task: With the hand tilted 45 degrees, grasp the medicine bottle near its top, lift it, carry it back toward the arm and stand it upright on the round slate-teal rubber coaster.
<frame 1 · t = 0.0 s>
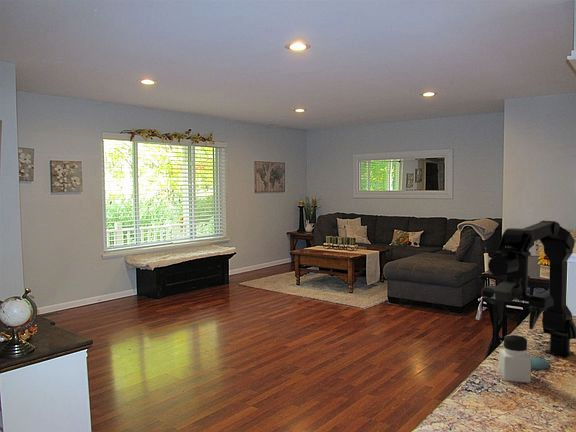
hand: (515, 325, 141), 15 cm above the countertop, tool pointing down, fingers open, 9 cm apart
coaster: (530, 363, 151), on the countertop
medicine bottle: (514, 377, 141), on the countertop
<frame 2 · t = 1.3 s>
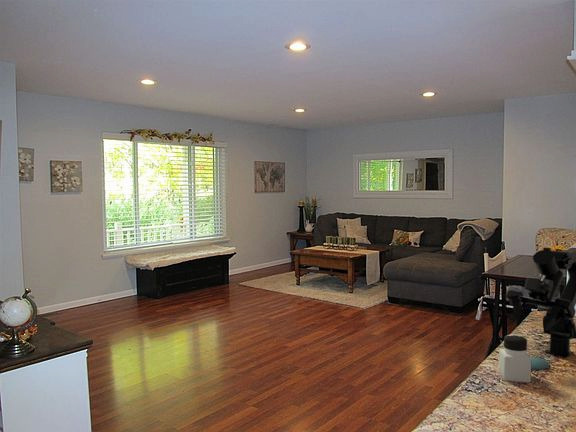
hand: (528, 326, 144), 14 cm above the countertop, tool tilted 45°, fingers open, 9 cm apart
nothing on the countertop moved.
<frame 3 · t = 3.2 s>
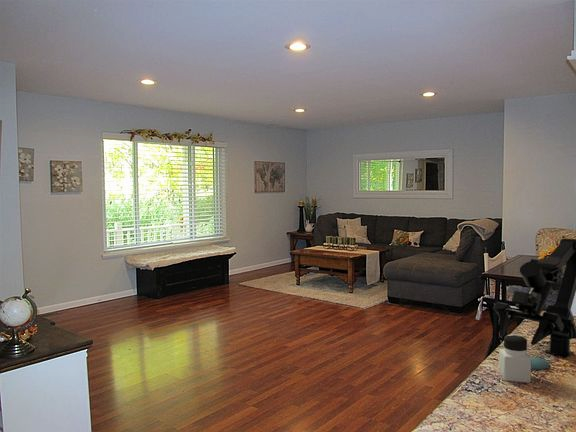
hand: (516, 340, 140), 11 cm above the countertop, tool tilted 45°, fingers open, 9 cm apart
nothing on the countertop moved.
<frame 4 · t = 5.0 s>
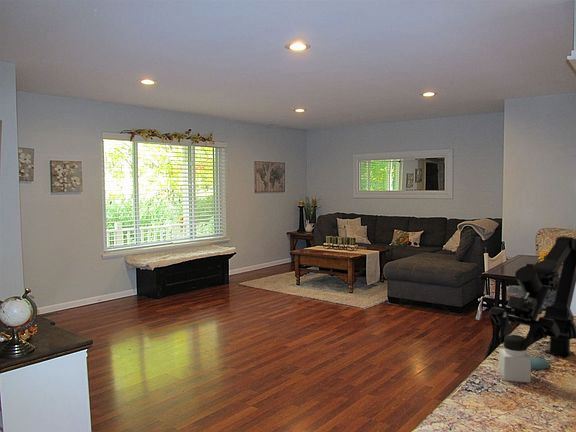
hand: (511, 345, 139), 10 cm above the countertop, tool tilted 45°, fingers closed on medicine bottle, 6 cm apart
medicine bottle: (514, 377, 141), on the countertop, touching gripper
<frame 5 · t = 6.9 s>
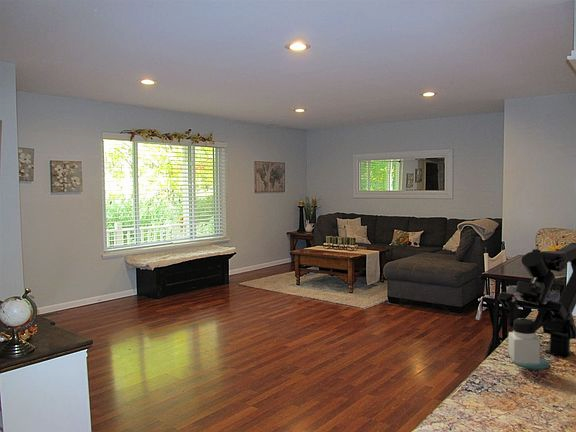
hand: (520, 329, 144), 13 cm above the countertop, tool tilted 45°, fingers closed on medicine bottle, 6 cm apart
medicine bottle: (523, 359, 146), point 3 cm above the countertop, touching gripper
when the fingers open (12 cm above the countertop, at t = 9.0 s): medicine bottle drops 1 cm, resting on coaster.
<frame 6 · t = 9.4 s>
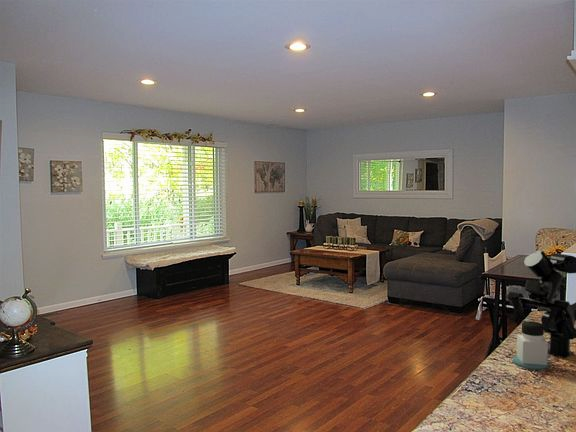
hand: (529, 326, 149), 12 cm above the countertop, tool tilted 45°, fingers open, 9 cm apart
medicine bottle: (531, 361, 151), point 1 cm above the countertop, touching coaster
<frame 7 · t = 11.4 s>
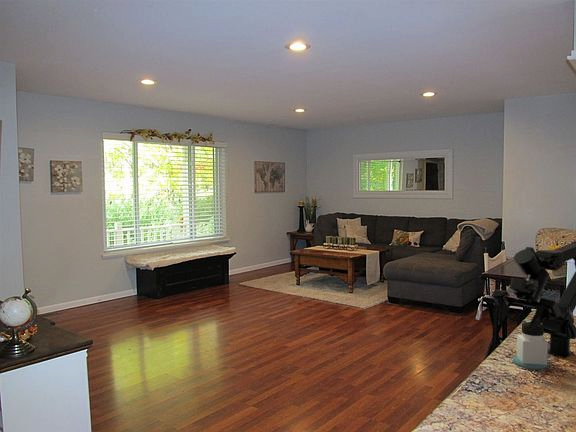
hand: (513, 325, 144), 14 cm above the countertop, tool tilted 45°, fingers open, 9 cm apart
nothing on the countertop moved.
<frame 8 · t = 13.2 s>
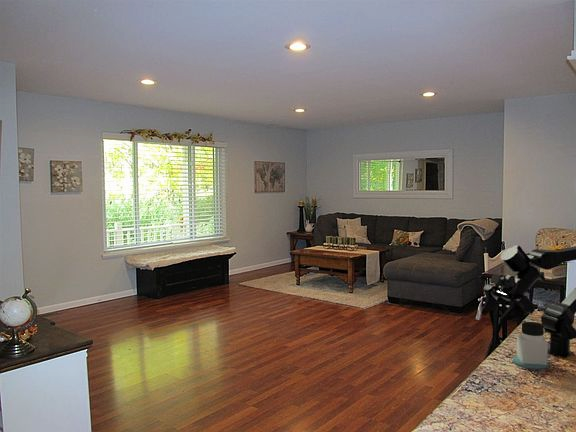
hand: (490, 318, 153), 14 cm above the countertop, tool tilted 45°, fingers open, 9 cm apart
nothing on the countertop moved.
at the end: medicine bottle inside the target area on the coaster (0.6 cm from its centre), point 0.6 cm above the coaster's base; medicine bottle tilted 0°; the gripper is holding nothing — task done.
